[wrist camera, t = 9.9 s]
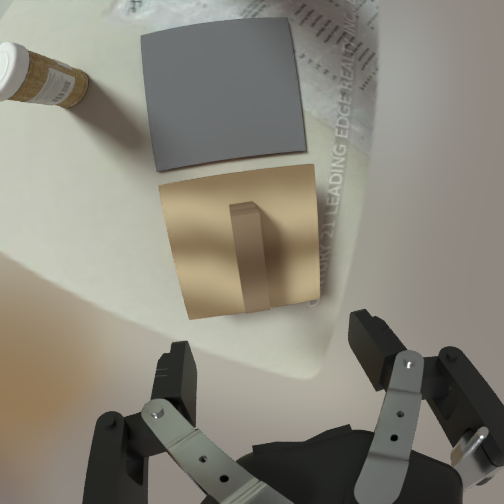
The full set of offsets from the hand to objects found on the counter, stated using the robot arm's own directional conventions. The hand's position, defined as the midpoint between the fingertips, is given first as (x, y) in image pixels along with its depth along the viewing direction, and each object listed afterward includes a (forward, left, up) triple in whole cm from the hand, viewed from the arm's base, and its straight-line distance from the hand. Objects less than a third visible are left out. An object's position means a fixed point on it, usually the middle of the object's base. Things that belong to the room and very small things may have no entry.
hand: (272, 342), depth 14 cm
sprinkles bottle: (-19, -16, -19) cm, 31 cm away
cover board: (0, 0, -13) cm, 13 cm away
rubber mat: (-15, 0, -18) cm, 24 cm away
